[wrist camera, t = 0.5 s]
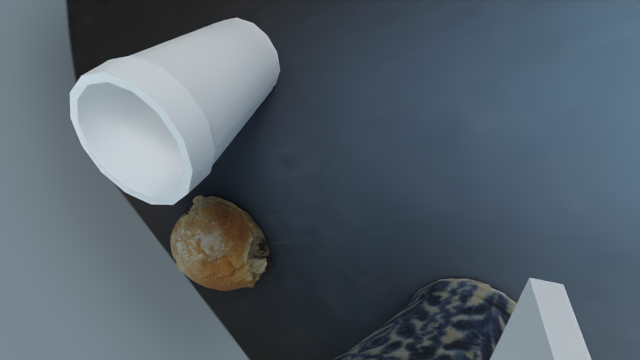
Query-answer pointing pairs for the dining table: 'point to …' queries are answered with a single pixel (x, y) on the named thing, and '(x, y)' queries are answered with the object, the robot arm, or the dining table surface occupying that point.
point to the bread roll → (219, 245)
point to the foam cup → (173, 107)
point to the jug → (441, 325)
